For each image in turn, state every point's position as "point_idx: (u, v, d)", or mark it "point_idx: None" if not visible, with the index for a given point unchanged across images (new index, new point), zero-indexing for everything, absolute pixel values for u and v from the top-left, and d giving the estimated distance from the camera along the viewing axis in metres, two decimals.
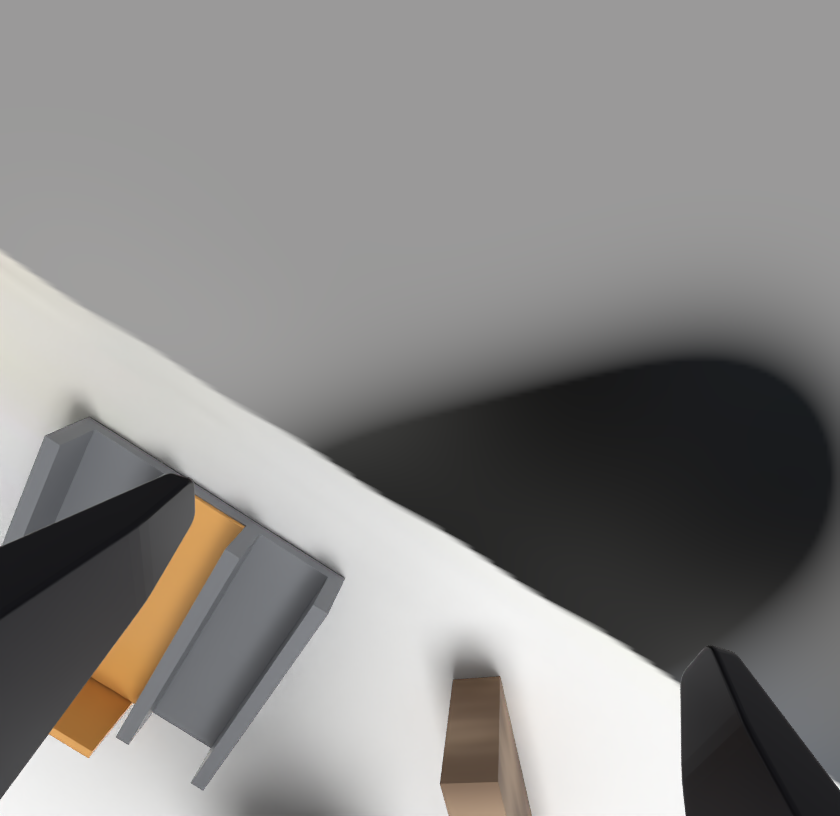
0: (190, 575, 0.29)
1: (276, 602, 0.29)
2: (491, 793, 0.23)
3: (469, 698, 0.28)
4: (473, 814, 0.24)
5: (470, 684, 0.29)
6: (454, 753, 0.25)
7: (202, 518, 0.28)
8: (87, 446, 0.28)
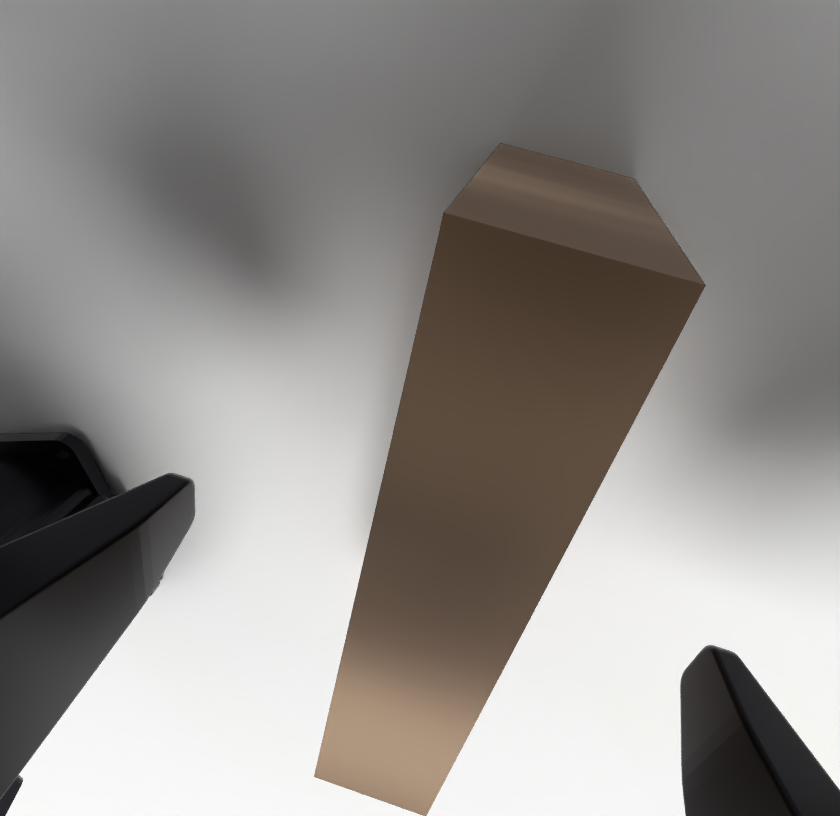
0: None
1: None
2: (634, 332, 0.05)
3: (551, 168, 0.09)
4: (502, 398, 0.06)
5: (551, 159, 0.10)
6: (506, 196, 0.06)
7: None
8: None
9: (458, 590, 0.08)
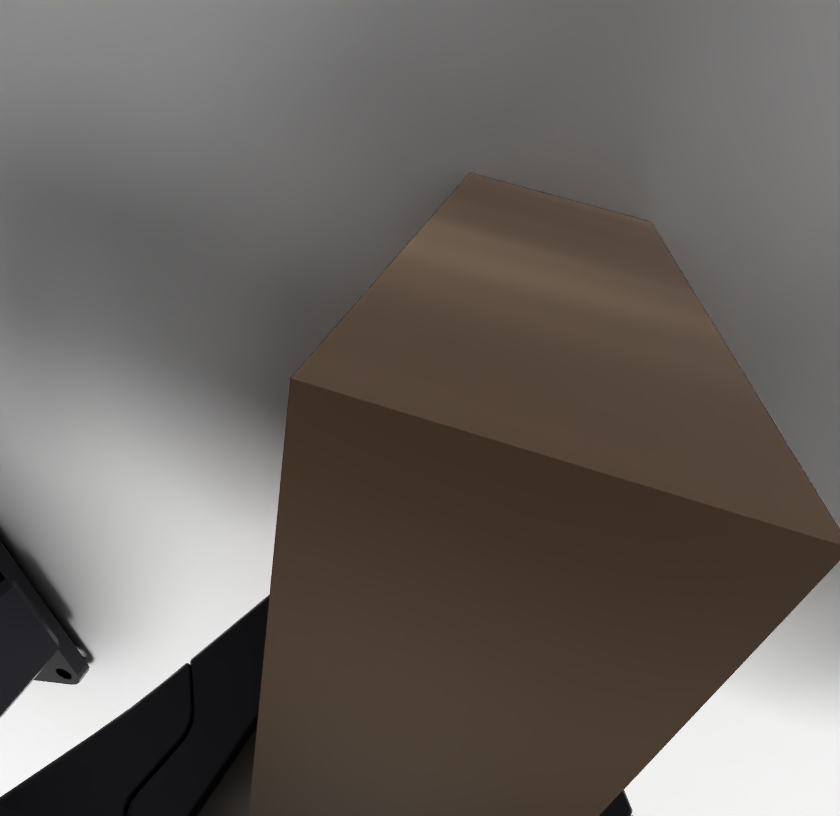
0: None
1: None
2: (688, 608, 0.03)
3: (537, 215, 0.06)
4: (437, 673, 0.03)
5: (537, 199, 0.07)
6: (450, 298, 0.04)
7: None
8: None
9: None
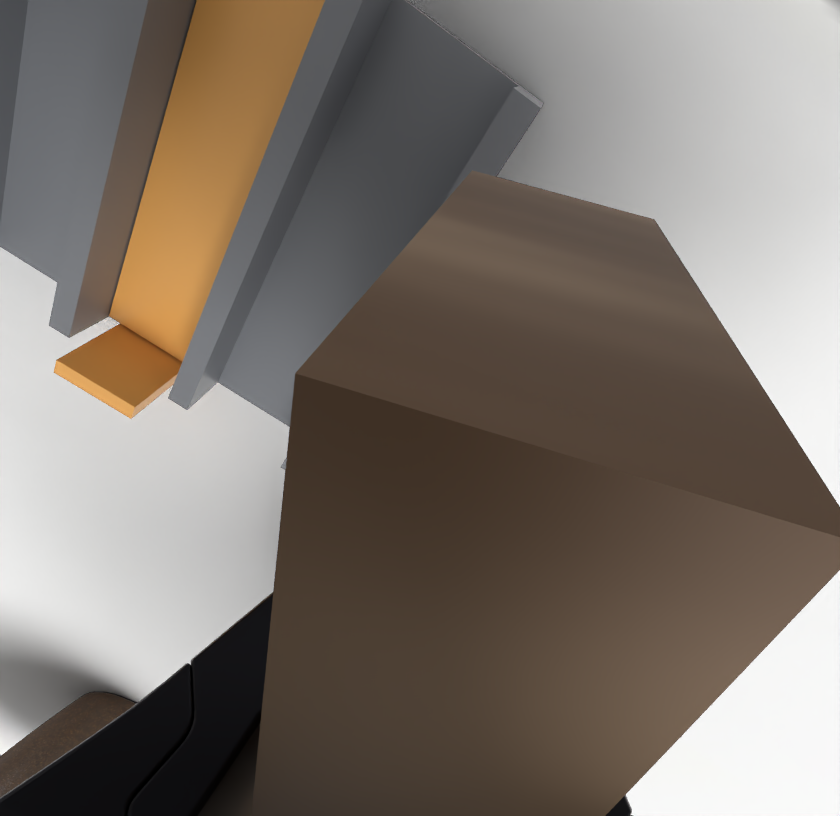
0: (266, 107, 0.16)
1: (416, 157, 0.16)
2: (696, 606, 0.03)
3: (539, 213, 0.06)
4: (442, 672, 0.03)
5: (540, 196, 0.07)
6: (454, 294, 0.04)
7: None
8: None
9: None
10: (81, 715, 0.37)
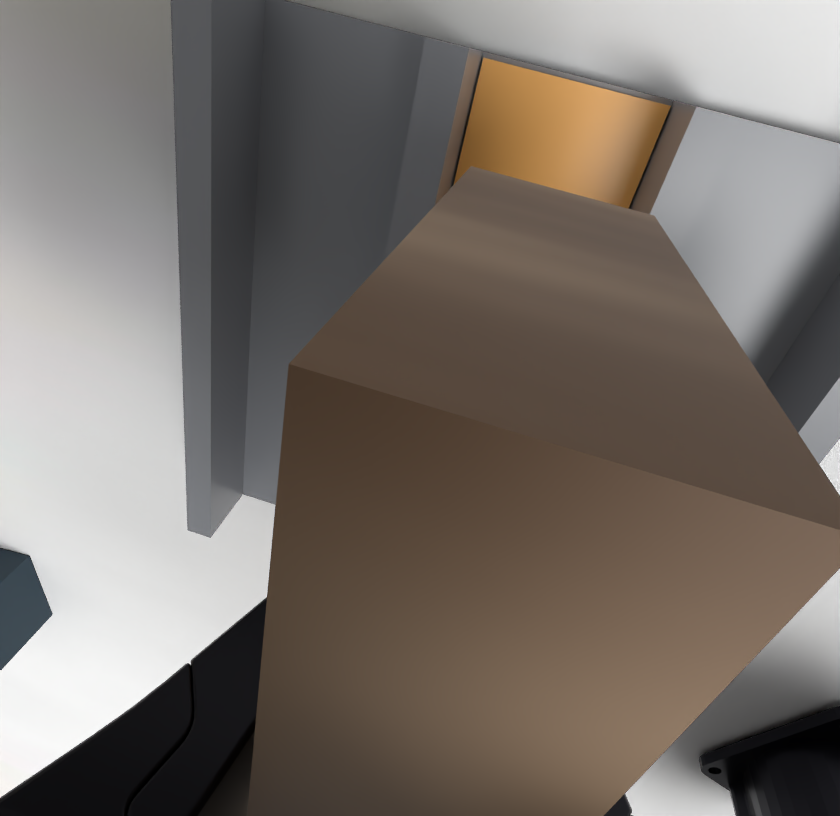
0: None
1: (756, 286, 0.13)
2: (697, 601, 0.03)
3: (539, 208, 0.06)
4: (439, 669, 0.03)
5: (539, 192, 0.07)
6: (452, 286, 0.04)
7: (560, 124, 0.12)
8: (263, 56, 0.12)
9: None
10: None
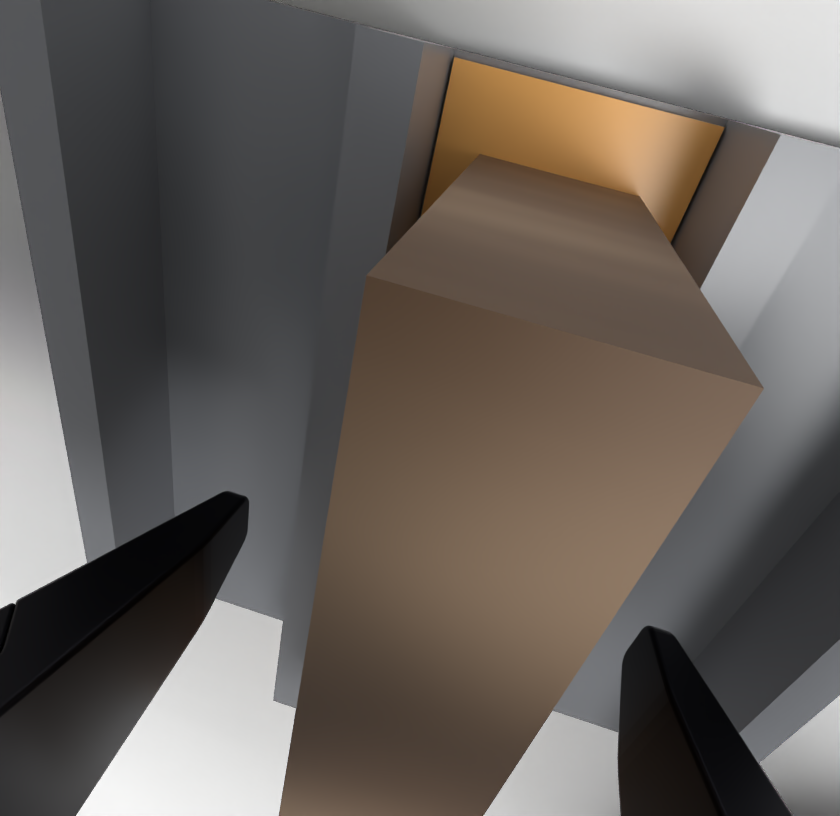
0: None
1: (833, 370, 0.09)
2: (653, 448, 0.04)
3: (539, 188, 0.07)
4: (465, 524, 0.04)
5: (540, 175, 0.08)
6: (472, 237, 0.05)
7: (564, 151, 0.08)
8: (153, 56, 0.09)
9: (420, 735, 0.06)
10: None
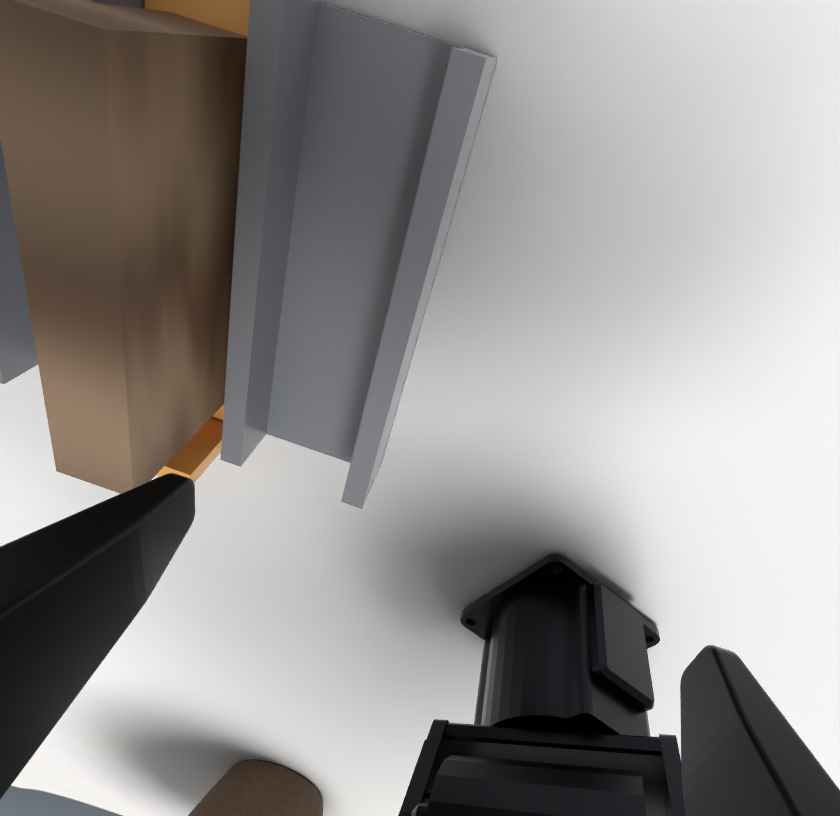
0: None
1: (386, 155, 0.16)
2: (85, 61, 0.10)
3: (170, 19, 0.14)
4: (44, 112, 0.11)
5: (190, 20, 0.14)
6: (59, 2, 0.11)
7: (211, 10, 0.15)
8: None
9: (76, 269, 0.13)
10: (233, 786, 0.38)
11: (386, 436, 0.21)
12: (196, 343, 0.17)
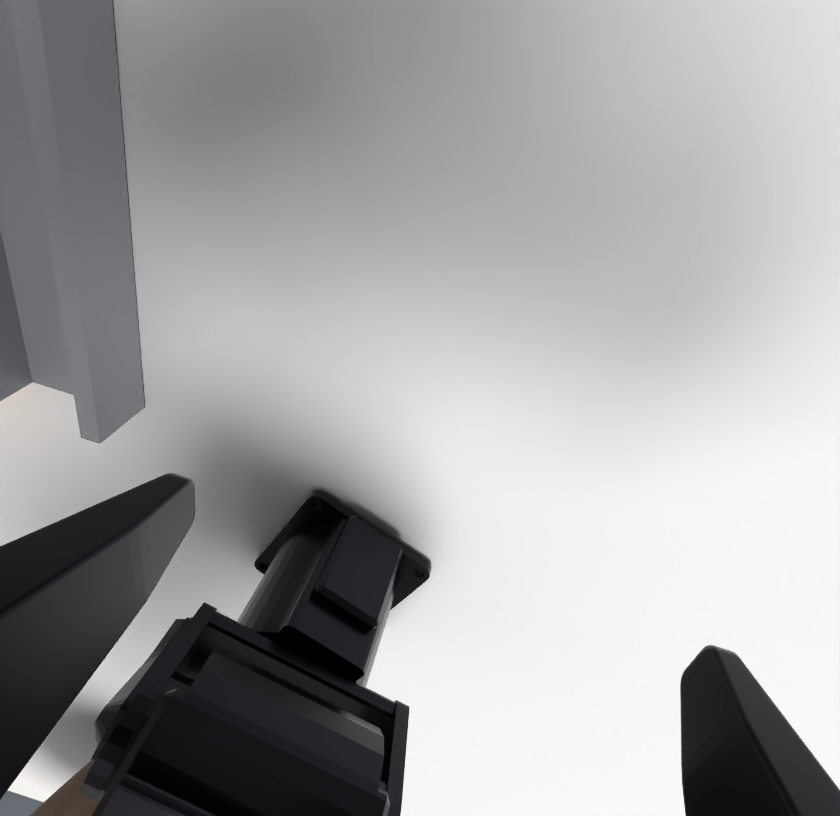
0: None
1: None
2: None
3: None
4: None
5: None
6: None
7: None
8: None
9: None
10: None
11: (122, 374, 0.22)
12: None
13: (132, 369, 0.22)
